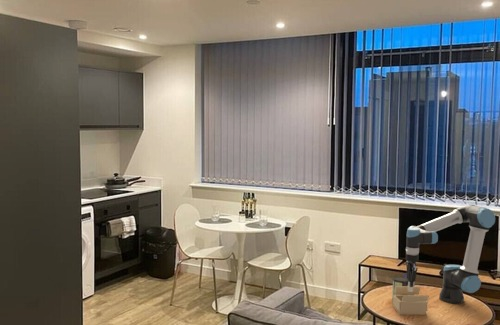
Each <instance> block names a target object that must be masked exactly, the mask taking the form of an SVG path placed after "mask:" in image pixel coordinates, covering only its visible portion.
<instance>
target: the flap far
mask: <svg viewBox="0 0 500 325" xmlns="http://www.w3.org/2000/svg"><path fill="white" fill-rule="evenodd" d="M420 292H421V286H418V285H417V286H416V285H415V286H413V292H408V286H396V290H395V294H404V295H420Z"/></svg>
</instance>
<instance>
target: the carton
mask: <svg viewBox="0 0 500 325" xmlns="http://www.w3.org/2000/svg"><path fill="white" fill-rule="evenodd" d="M403 296H404V295H394V296H393V300H392V305H393V308H394V310H396V312H397V313H398V314H399V315H400V316H427V312H428V301H427V302H415V301H402V299H403Z"/></svg>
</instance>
